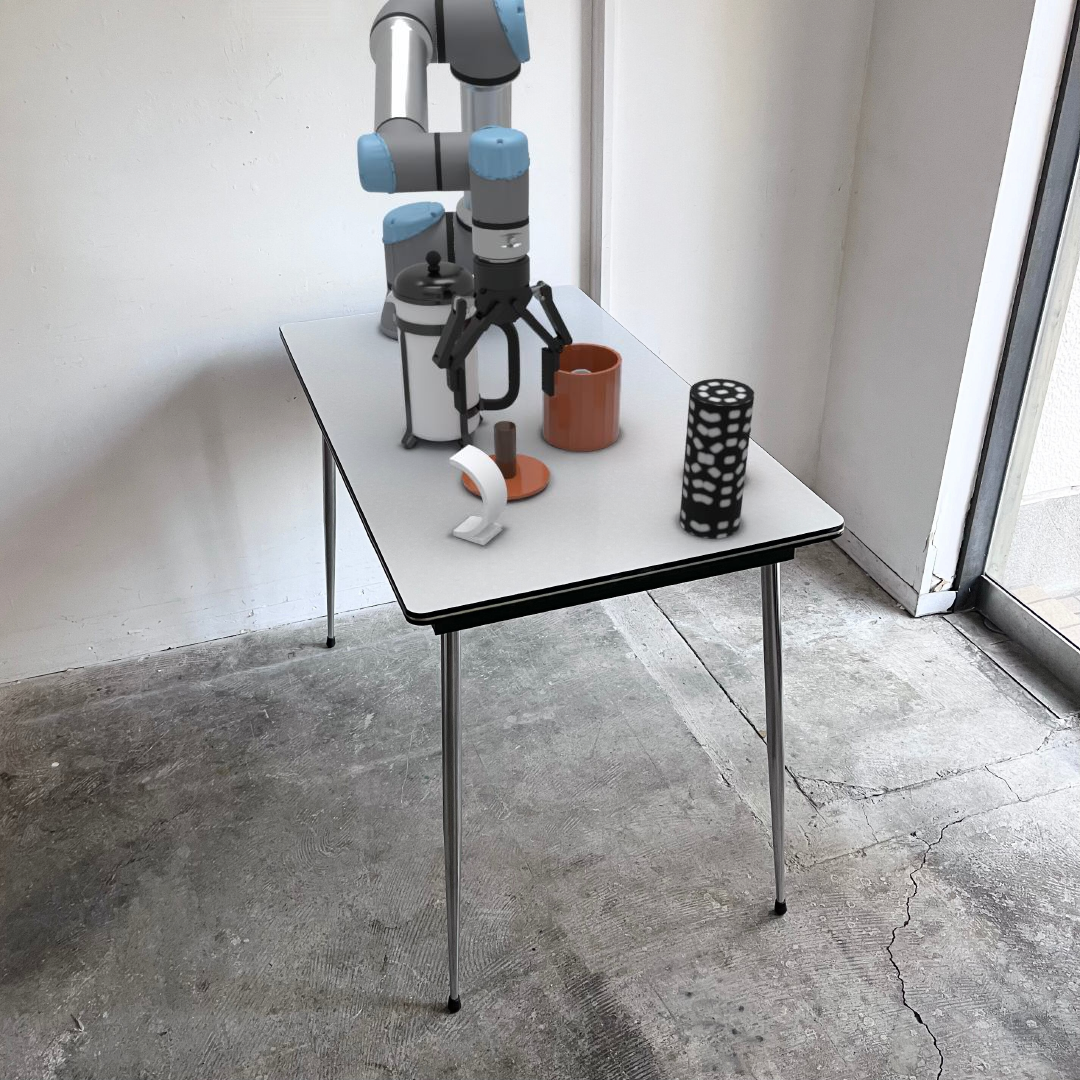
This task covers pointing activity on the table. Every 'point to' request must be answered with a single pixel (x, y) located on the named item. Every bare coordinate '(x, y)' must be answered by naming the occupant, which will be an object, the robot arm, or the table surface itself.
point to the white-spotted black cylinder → (715, 457)
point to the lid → (513, 465)
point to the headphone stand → (482, 494)
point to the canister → (584, 399)
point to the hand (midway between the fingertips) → (504, 401)
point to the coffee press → (420, 325)
